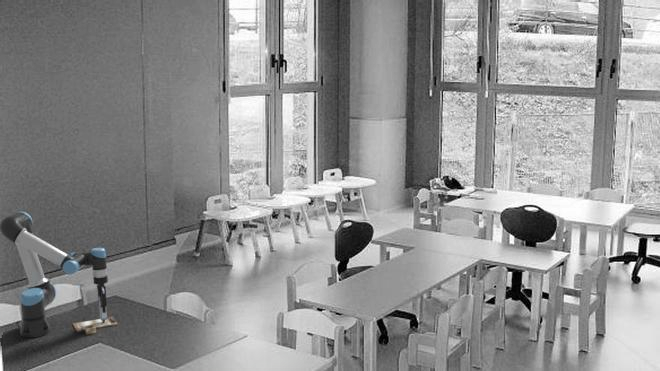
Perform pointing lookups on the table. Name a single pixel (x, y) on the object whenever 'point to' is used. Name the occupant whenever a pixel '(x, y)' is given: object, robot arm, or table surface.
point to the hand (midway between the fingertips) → (103, 316)
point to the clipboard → (97, 322)
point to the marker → (100, 311)
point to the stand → (90, 329)
